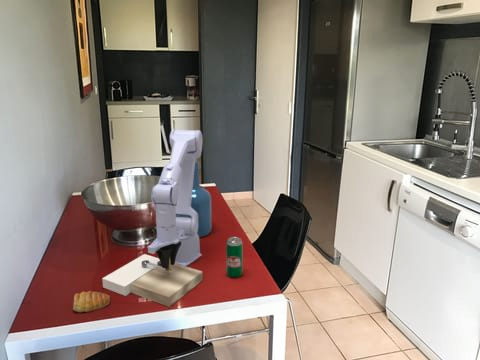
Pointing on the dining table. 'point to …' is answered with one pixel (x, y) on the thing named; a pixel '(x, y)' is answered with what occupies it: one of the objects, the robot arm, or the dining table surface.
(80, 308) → the pastry
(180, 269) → the slab
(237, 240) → the soda can
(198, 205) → the blue bottle
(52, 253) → the dining table surface
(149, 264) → the bar
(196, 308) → the dining table surface
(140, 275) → the frame slab
